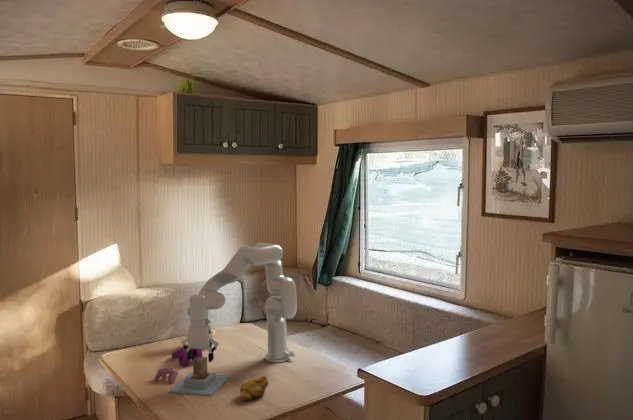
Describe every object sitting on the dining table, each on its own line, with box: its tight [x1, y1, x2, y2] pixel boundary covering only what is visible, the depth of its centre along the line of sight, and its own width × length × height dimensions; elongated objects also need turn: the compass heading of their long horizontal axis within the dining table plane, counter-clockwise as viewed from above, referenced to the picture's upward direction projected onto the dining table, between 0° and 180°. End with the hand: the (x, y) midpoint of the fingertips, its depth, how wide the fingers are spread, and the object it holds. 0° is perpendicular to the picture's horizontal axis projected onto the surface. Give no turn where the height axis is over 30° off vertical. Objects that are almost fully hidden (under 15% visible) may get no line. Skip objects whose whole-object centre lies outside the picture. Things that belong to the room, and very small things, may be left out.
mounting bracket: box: [170, 347, 203, 368], centre depth 255 cm, size 9×8×18 cm
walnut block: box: [192, 356, 208, 380], centre depth 226 cm, size 4×4×11 cm
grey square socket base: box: [168, 371, 231, 397], centre depth 226 cm, size 20×20×4 cm
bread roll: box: [239, 375, 269, 402], centre depth 213 cm, size 13×10×8 cm
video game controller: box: [153, 366, 179, 385], centre depth 231 cm, size 10×5×7 cm, turn 72°
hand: (200, 360), depth 226 cm, fingers open, 9 cm apart
